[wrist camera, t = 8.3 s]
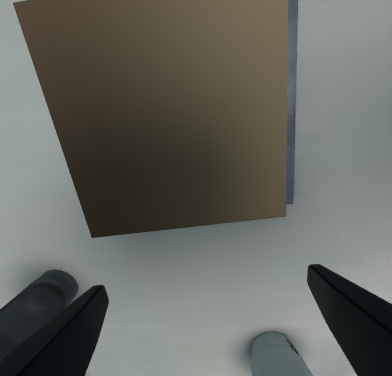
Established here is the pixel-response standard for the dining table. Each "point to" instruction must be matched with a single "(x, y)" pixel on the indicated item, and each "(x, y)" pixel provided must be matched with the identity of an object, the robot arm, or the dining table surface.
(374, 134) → the dining table surface
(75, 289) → the beverage cup
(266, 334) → the cup
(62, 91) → the post
